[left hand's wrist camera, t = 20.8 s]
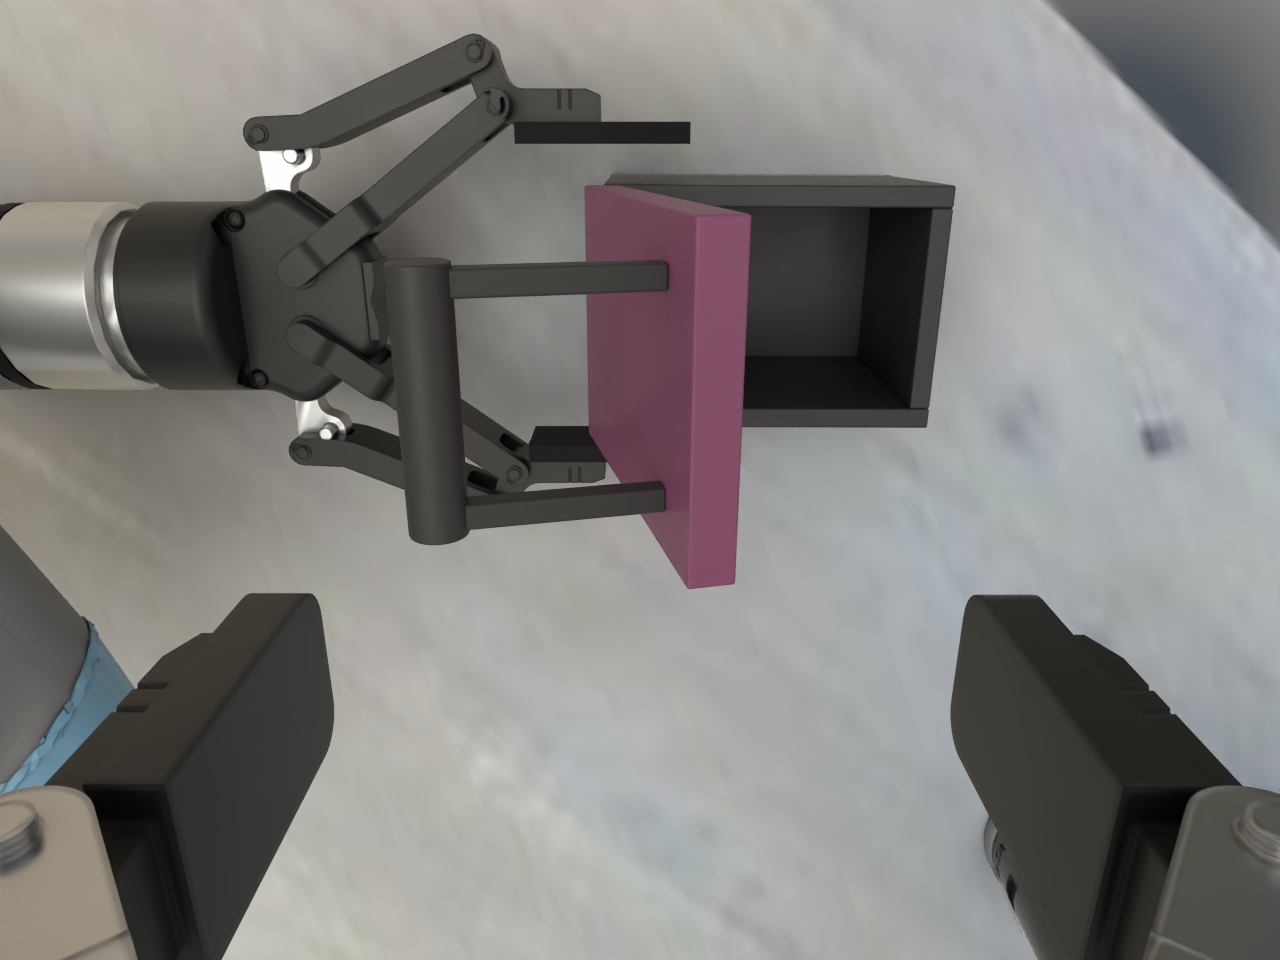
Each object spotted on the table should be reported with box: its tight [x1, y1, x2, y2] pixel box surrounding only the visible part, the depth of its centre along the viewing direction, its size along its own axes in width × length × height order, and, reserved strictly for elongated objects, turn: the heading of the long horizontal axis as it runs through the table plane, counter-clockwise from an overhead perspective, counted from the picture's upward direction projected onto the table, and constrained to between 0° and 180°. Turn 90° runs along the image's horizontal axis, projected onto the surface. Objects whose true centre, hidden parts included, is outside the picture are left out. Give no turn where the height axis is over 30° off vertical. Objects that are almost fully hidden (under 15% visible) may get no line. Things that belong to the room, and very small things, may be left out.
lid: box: [383, 185, 751, 589], centre depth 27 cm, size 13×9×8 cm
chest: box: [604, 174, 956, 428], centre depth 39 cm, size 13×9×10 cm
